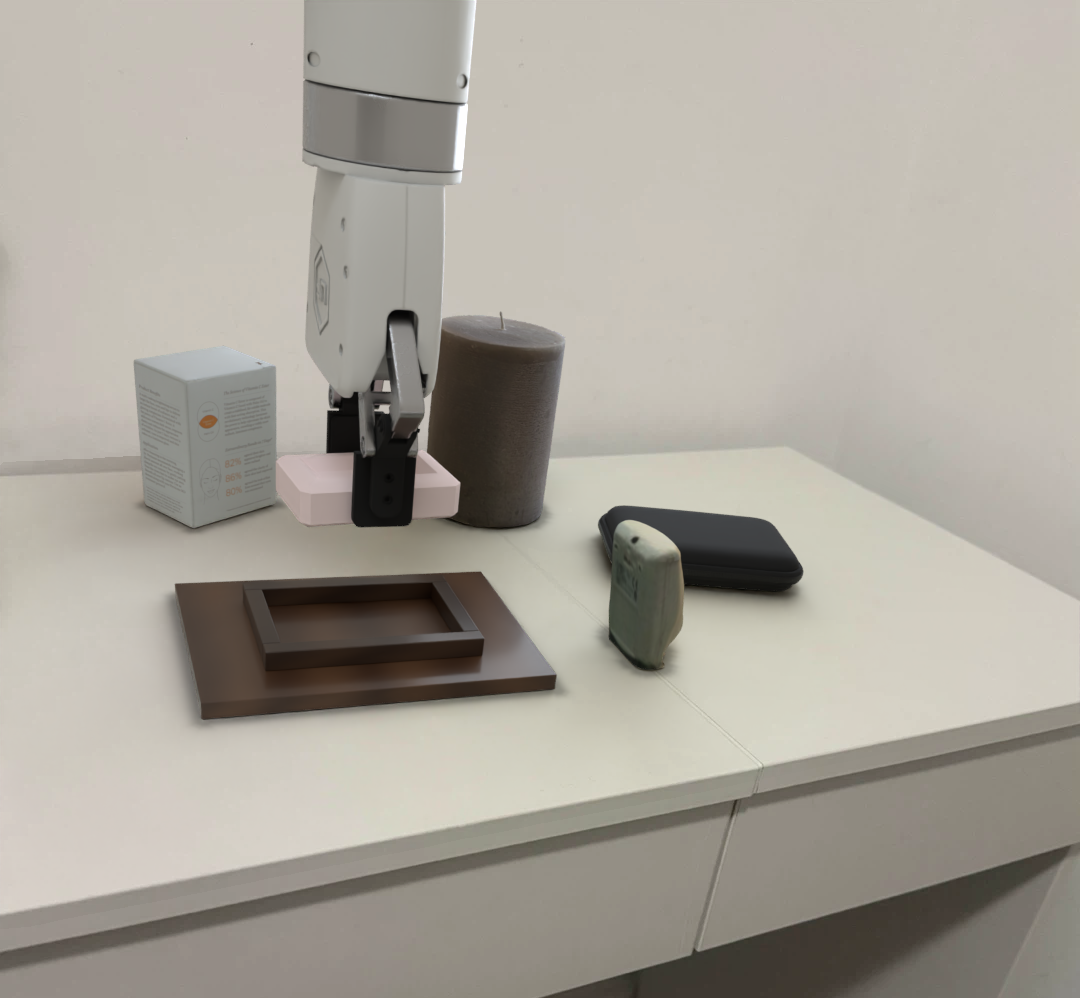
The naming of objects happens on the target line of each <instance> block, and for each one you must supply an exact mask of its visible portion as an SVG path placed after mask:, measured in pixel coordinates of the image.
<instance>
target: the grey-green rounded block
mask: <svg viewBox="0 0 1080 998" xmlns="http://www.w3.org/2000/svg"><path fill="white" fill-rule="evenodd" d="M684 600H685V584H684V580H683V572H682V565H681V555H680V551H679V549H678V548H677V546H676V545H675V544H674V543H673V542H672V541H671V540H670V539H669V538H668V537H667V536H665V535H664V534H663V533H661V532H659V531H658V530H656V529H654V528H652V527H650V526H648V525H646V524H643V523H641V522H638V521H634V520H625V521H623V522H621V523H619V524H618V525H617V527H616V529H615V532H614V540H613V552H612V563H611V574H610V592H609V601H608V639H609V641H610V642H611V643H612V644H614V646H616V647H617V649H618V650H619V651H620V652H621V653H622V654H623V655H624V657H626V659H627V660H628V661H629V662H630V663H631V665H633V666H634V667H636V668H639V669H640V670H645V671H646V670H647V671H651V670H652V671H653V670H659V669H662V668H665V662H664V660H663V659H664V657H665V656H666V650H667V648H668V647H669V645H671V644H672V642H674V640H675V639H676V638H677V637H678V636H679V634H680V632H681V631H682V628H683V625H684V602H685V601H684Z"/></svg>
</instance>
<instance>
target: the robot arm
mask: <svg viewBox="0 0 1080 998" xmlns="http://www.w3.org/2000/svg"><path fill="white" fill-rule="evenodd" d="M476 9H477V0H303V70H302V71H303V73H302V74H303V75H302V77H303V79H304V80H303V81H302V144H301V146H302V155H301V156H302V158H301V159H302V162H303V163H304V165H305V164H306V165H308V166H309V167H313V168H314V167H316V175H315V182H314V191H313V199H312V210H311V211H312V212H311V221H310V222H311V223H310V239H309V254H308V255H309V256H308V257H309V258H308V275H307V292H306V309H305V312H306V313H305V329H304V330H305V333H304V339H305V341H304V342H305V348H306V351H307V354H309V357H310V358H311V360H312V361H313V363H314V364H315V366H316V367H317V369H318V370H319V372H320V373H321V374H322V376H323V377H324V378H325V380H326V381H327V382H328V391H327V393H328V395H327V399H328V405H329V409H331V410H329V409H327V410H326V440H325V441H326V446H325V454H327V453H354V456H353V481H352V507H351V519H352V521H353V523H354V524H353V525H354V526H355V527H357V528H393V527H396V528H397V527H408V526H409V525H411V524H412V522H413V520H412V512H413V499H414V485H415V471H416V457H417V454H418V450H419V433H420V432H421V428H419V427H420V425H421V424H422V422H423V419H424V418H425V413H426V411H425V410H426V405H425V399H426V398H427V397H428V396H430V395H431V394H432V391H433V389H434V386H435V381H436V375H437V368H438V360H439V350H440V339H441V324H442V319H443V307H444V306H443V305H444V284H445V281H444V280H445V245H446V186H454V185H460V184H461V183H462V179H463V167H464V166H463V165H464V157H465V156H464V155H465V143H466V131H467V120H468V107H469V105H468V102H469V90H470V79H471V78H470V77H471V67H472V56H473V55H472V53H473V43H474V35H475V34H474V33H475V23H476V12H477V10H476ZM385 381H387V382H388V381H389V386H390V387H389V388H390V391H385V390H384V391H383V389H384V383H385ZM381 406H388V413H386V412H385V411H383V410H380V407H381ZM332 409H333V410H332Z"/></svg>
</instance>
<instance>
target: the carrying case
mask: <svg viewBox="0 0 1080 998" xmlns="http://www.w3.org/2000/svg"><path fill="white" fill-rule="evenodd" d="M625 520H634V521H638V522H641V523H643V524H646V525H648V526H650V527H652V528H654V529H656V530H658V531H659V532H661V533H663V534H664V535H665V536H667V537H668V538H669V539H670V540H671V541H672V542H673V543H674V544H675V545H676V546H677V548H678V549H679V551H680V555H681V565H682V572H683V580H684V585H685V586H686V585H688V586H696V587H697V586H698V587H699V586H700V587H710V588H724V589H736V590H749V591H762V592H784V591H786V590H788V589H790V588H791V587H792V586H794V585H796V584H798V583H799V582H800V581H801V580H802V578H803V576H804V567H803V565H802V564H801V562H800V560H799V559H798V557H797V555H796V554H795V553H794V551H793V550H792V548H791V547H790V546H789V544H788V543H787V541H786V540H785V539H784V537H783V535H782V534H781V533H780V531H779V530H778V528H777V527H776V526H775V525H774V524H773V522H770V521H769V520H766V519H764V518H759V517H753V516H744V515H736V514H735V515H733V514H725V513H715V512H705V511H704V512H703V511H693V510H683V509H671V508H663V507H651V506H648V507H647V506H638V505H615V506H613V507H611V508H610V509H609V510H607V512H605V513H604V514H602V515H601V516H600V518H598V522H597V528H598V530H599V533H600V537H601V540H602V542H603V545H604V548H605V550H606V554H607V556H608V560H609V561H610V563H611V564H612V552H613V540H614V532H615V529H616V527H617V525H618V524H619V523H621V522H623V521H625Z"/></svg>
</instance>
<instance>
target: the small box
mask: <svg viewBox="0 0 1080 998" xmlns="http://www.w3.org/2000/svg"><path fill="white" fill-rule="evenodd" d="M133 373H134V374H133V375H134V386H135V399H136V412H137V413H136V414H137V425H138V440H139V452H140V465H141V479H142V490H143V491H142V492H143V502H144V505H145V506H146V507H149V508H151V509H153V510H155V511H157V512H160V513H161V514H164V515H165V516H167V517H169V518H171V519H173V520H176V521H178V522H179V523H182V524H183V525H186V526H187V527H190V528H192V529H196V528H199V527H202V526H206V525H209V524H212V523H216V522H218V521H223V520H226V519H230V518H233V517H236V516H240V515H242V514H245V513H250V512H252V511H255V510H259V509H262V508H266V507H268V506H269V507H270V506H272V505H275V504H276V503H277V501H278V493H277V492H276V460H278V457H277V456H278V455H277V365H275V364H273V363H271V362H268V361H265V360H263V359H260V358H257V357H255V356H252V355H251V354H247V353H244V352H242V351H240V350H237V349H235V348H232V347H229V346H226V345H220V346H219V345H218V346H213V347H207V348H200V349H193V350H187V351H179V352H175V353H173V352H172V353H169V354H168V353H167V354H160V355H156V356H148V357H141V358H136V359H134V360H133Z"/></svg>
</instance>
